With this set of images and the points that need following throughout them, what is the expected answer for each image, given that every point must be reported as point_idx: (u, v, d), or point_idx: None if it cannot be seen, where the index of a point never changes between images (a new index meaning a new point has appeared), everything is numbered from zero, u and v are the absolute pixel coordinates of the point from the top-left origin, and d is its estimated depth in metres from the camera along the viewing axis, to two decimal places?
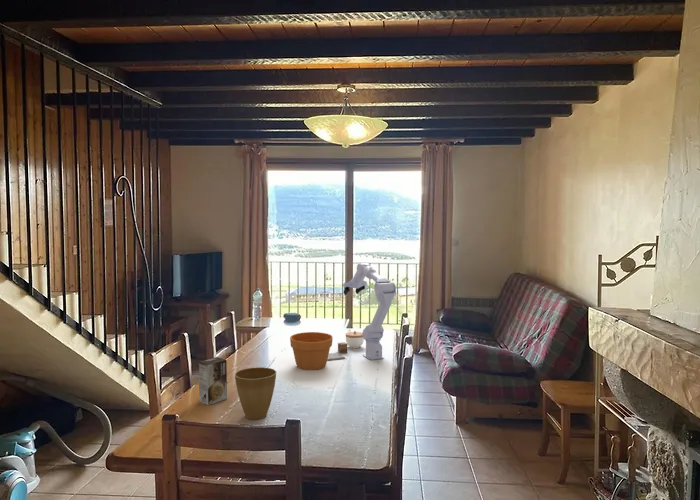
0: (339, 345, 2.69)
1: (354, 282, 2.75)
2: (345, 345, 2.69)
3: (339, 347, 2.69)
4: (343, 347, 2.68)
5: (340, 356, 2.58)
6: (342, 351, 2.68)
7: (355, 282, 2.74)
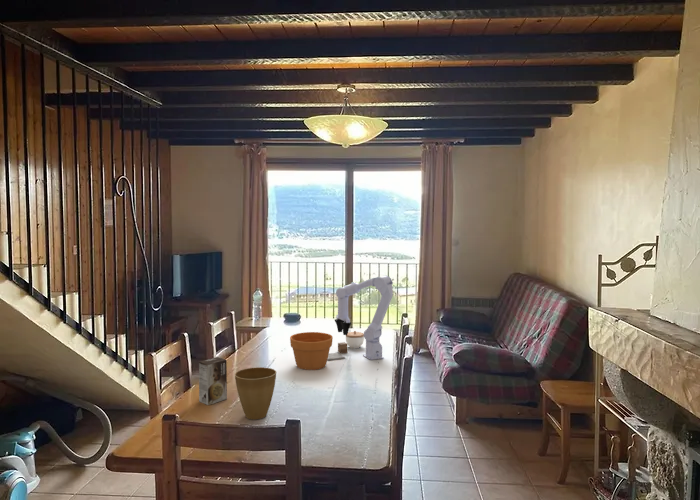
0: (339, 345, 2.69)
1: (347, 312, 2.68)
2: (345, 345, 2.69)
3: (339, 347, 2.69)
4: (343, 347, 2.68)
5: (340, 356, 2.58)
6: (342, 351, 2.68)
7: (347, 311, 2.68)
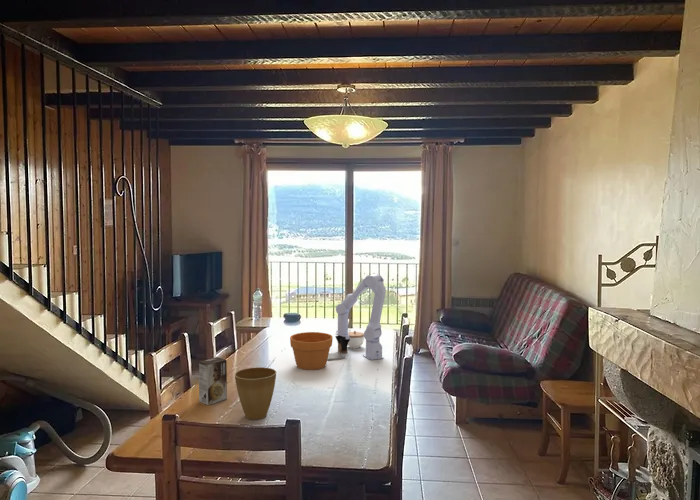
0: (339, 345, 2.69)
1: (346, 328, 2.68)
2: None
3: (339, 347, 2.69)
4: None
5: (340, 356, 2.58)
6: (342, 351, 2.68)
7: (347, 327, 2.69)
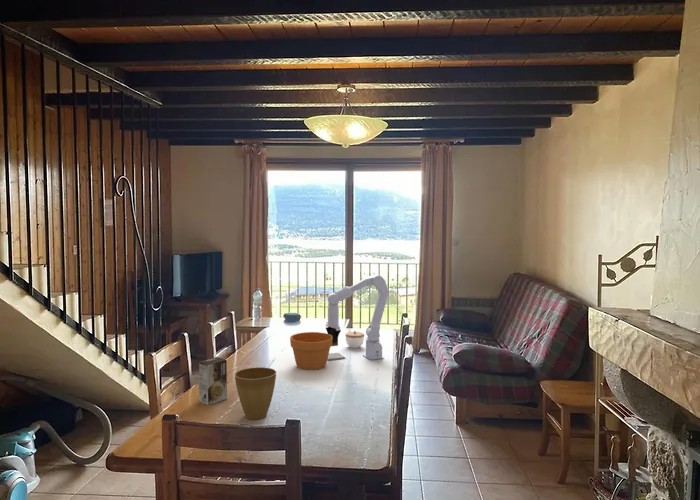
0: None
1: (337, 319, 2.57)
2: None
3: None
4: None
5: (340, 356, 2.58)
6: (332, 344, 2.57)
7: (337, 318, 2.57)
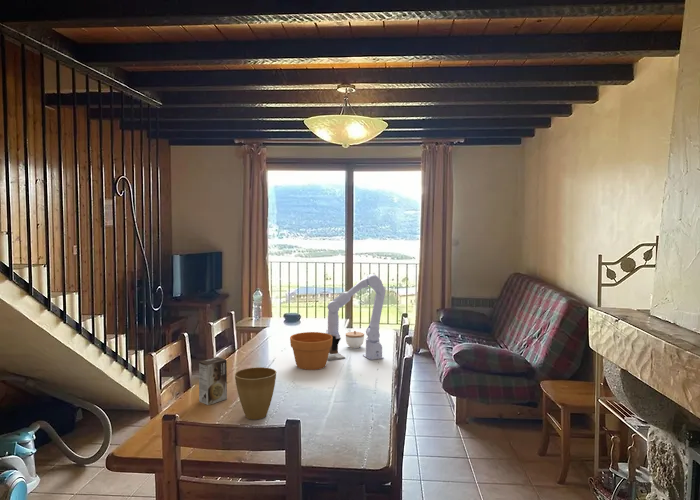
0: None
1: (337, 327, 2.57)
2: None
3: None
4: None
5: (340, 356, 2.58)
6: (332, 352, 2.57)
7: (337, 326, 2.58)
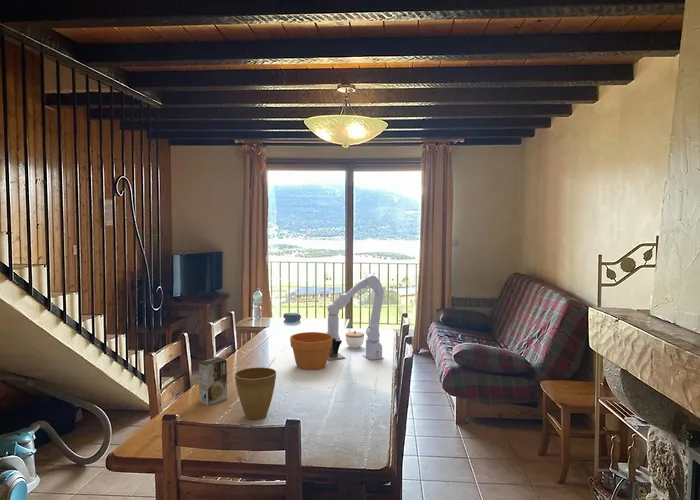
0: None
1: (337, 329, 2.57)
2: None
3: (329, 350, 2.58)
4: None
5: (340, 356, 2.58)
6: (332, 355, 2.57)
7: (337, 328, 2.58)
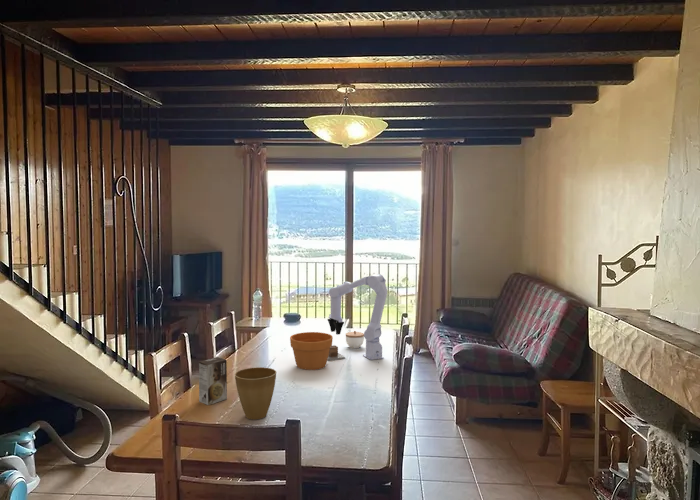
0: None
1: (339, 311, 2.69)
2: (335, 348, 2.58)
3: (329, 350, 2.58)
4: (333, 350, 2.57)
5: (340, 356, 2.58)
6: (332, 355, 2.57)
7: (340, 310, 2.69)
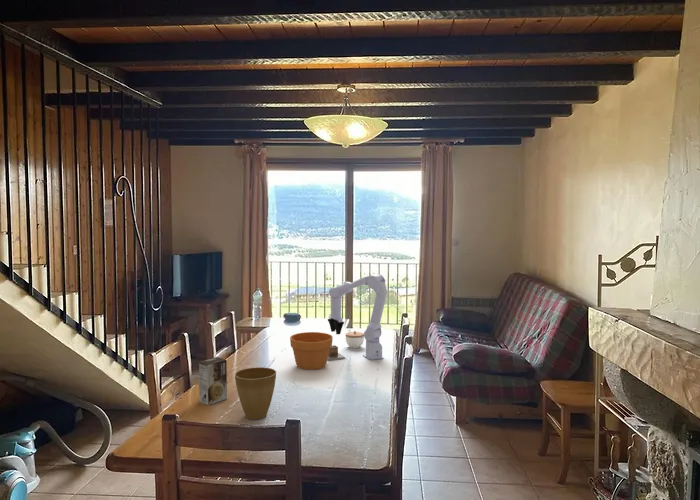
0: None
1: (339, 311, 2.69)
2: (335, 348, 2.58)
3: (329, 350, 2.58)
4: (333, 350, 2.57)
5: (340, 356, 2.58)
6: (332, 355, 2.57)
7: (340, 310, 2.70)
